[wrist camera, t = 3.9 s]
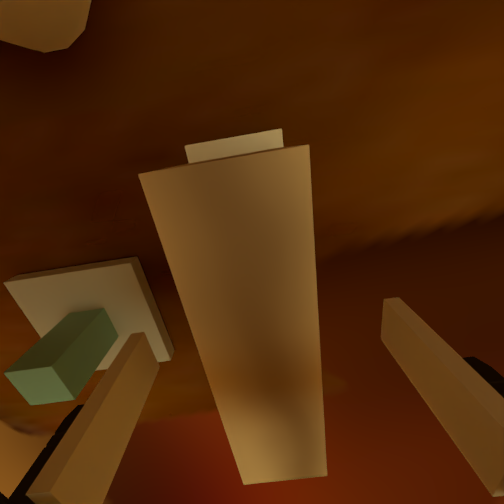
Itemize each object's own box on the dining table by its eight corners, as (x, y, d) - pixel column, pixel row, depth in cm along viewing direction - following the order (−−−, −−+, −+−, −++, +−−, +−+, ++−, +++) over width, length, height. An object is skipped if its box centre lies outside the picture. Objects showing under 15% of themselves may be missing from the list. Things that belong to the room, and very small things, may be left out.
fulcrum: (74, 363, 23) (10, 442, 16) (17, 275, 19) (-96, 336, 12) (174, 349, 22) (146, 426, 16) (137, 256, 18) (81, 310, 12)
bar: (244, 402, 19) (243, 484, 14) (182, 164, 11) (138, 174, 7) (307, 394, 18) (327, 475, 14) (283, 147, 11) (309, 144, 7)
